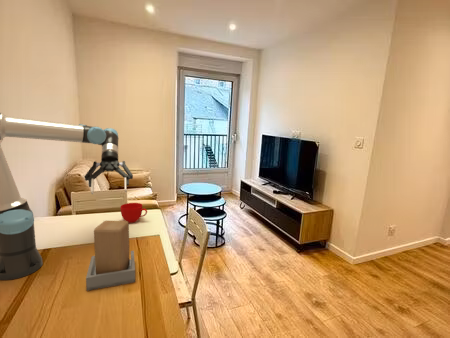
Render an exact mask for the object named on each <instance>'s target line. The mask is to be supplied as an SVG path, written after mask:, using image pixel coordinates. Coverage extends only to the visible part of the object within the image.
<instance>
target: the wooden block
mask: <svg viewBox="0 0 450 338" xmlns="http://www.w3.org/2000/svg"><path fill="white" fill-rule="evenodd" d="M129 225H130V223H128V221H125V220H103V222H101V223H100V224H99V225H97V227H95V228H94V230H93V239H94V241H93V242H94V256H95V267H96V275H97V274H103V273H110V272H116V271H122V270H127V269H128V267H129V265H130V259H131V256H130V226H129Z"/></svg>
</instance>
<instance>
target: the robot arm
mask: <svg viewBox="0 0 450 338" xmlns="http://www.w3.org/2000/svg"><path fill="white" fill-rule="evenodd" d="M7 137H8V138H19V139H20V138H21V139H32V140H43V141H45V140H47V141H58V142H71V143H83V144H92V145H98V146H101V159H100V162H97V161H96V160H95V161H93V164H92V165H91V167H90V168H89V170H88V171H87V172H86V173H85V174H84V176H83V177H84V181H88V187H89V188H90V194H91V195H94V193H95V192H94V191H95V190H94V189H95V180H96V179H97V178H98V177H99V176H100V175H101V174H103V173H104V172H116V173H118V175H120V176H121V177H122V178H124V193H127V191H128V190H127V186H130V180H133V178H134V177H133V176H134V175H133V173H132V171H131V170H130V169H129V167H128V166H127V165H126V161H125V160H122V162H119V132H118V131H117V130H116V129H115V128H111V127H110V128H109V127H108V128H104V129H103V128H101V127H99V126H91V125H87V124H83V123H79V124H74V123H73V124H72V123H64V122H56V121H48V120H40V119H33V118H32V119H31V118H24V117H22V118H21V117H15V116H6V115H5V114H4V113H3V112H0V280H1V281H9V280H16V279H19V278H23V277H26V276H29V275H31V274H33V273H35V272H37V271H38V270H40V269H41V268H40V267H42V266H43V263H44V262H43V258H42V255H41V254H40V252H39V250H38V249H37V245H36V243H37V242H36V234H35V233H36V232H35V217H34V213H33V210H31V208H30V205H29V202H28V201H27V199H26V198H23V197H21V195H20V192H19V189H18V187H17V185H16V182H15V179H14V176H13V174H12V171H11V169H10V166H9V163H8V161H7V158H6V156H5V153H4V151H3V147H2V146H1V143H2V142H3V141H4V138H7ZM99 166H100V167H99ZM98 167H99V168H98ZM120 167H121V168H123V170H124V171H123V170H122V169H121V168H120Z"/></svg>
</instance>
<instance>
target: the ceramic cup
mask: <svg viewBox="0 0 450 338" xmlns="http://www.w3.org/2000/svg"><path fill="white" fill-rule="evenodd" d="M119 207H120V209H119V210H120V214H121V216H122V218H123V221H128V223H129V224H131V223H132V224H133V223H136V222H138V221H139V219H141V218H143V217H145V216H146V215H147V213H148V210H147V208H143V204H142V203H140V202H139V203H138V202H128V203H127V202H126V203H123V204H121V205H120V206H119ZM143 211H145V213H144V214H142V213H143Z"/></svg>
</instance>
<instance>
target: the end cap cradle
mask: <svg viewBox="0 0 450 338" xmlns="http://www.w3.org/2000/svg"><path fill="white" fill-rule="evenodd" d="M85 276H86V277H85V282H86V283H85V284H86V287H85V288H86V291H87V292H89V291H94V290H98V288H100V289H105V287H106V288H111V287H115V286H116V287H117V286H122V285H126V284H133V283H136V263H135V251H134V250H130V265H129V267H128V269H127V270H122V271H116V272H110V273H103V274H97V275H96V267H95V255H92V256H91V258H90V261H89V265H88V269H87V274H86V275H85ZM121 284H122V285H121ZM93 289H94V290H93ZM88 290H89V291H88Z"/></svg>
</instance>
